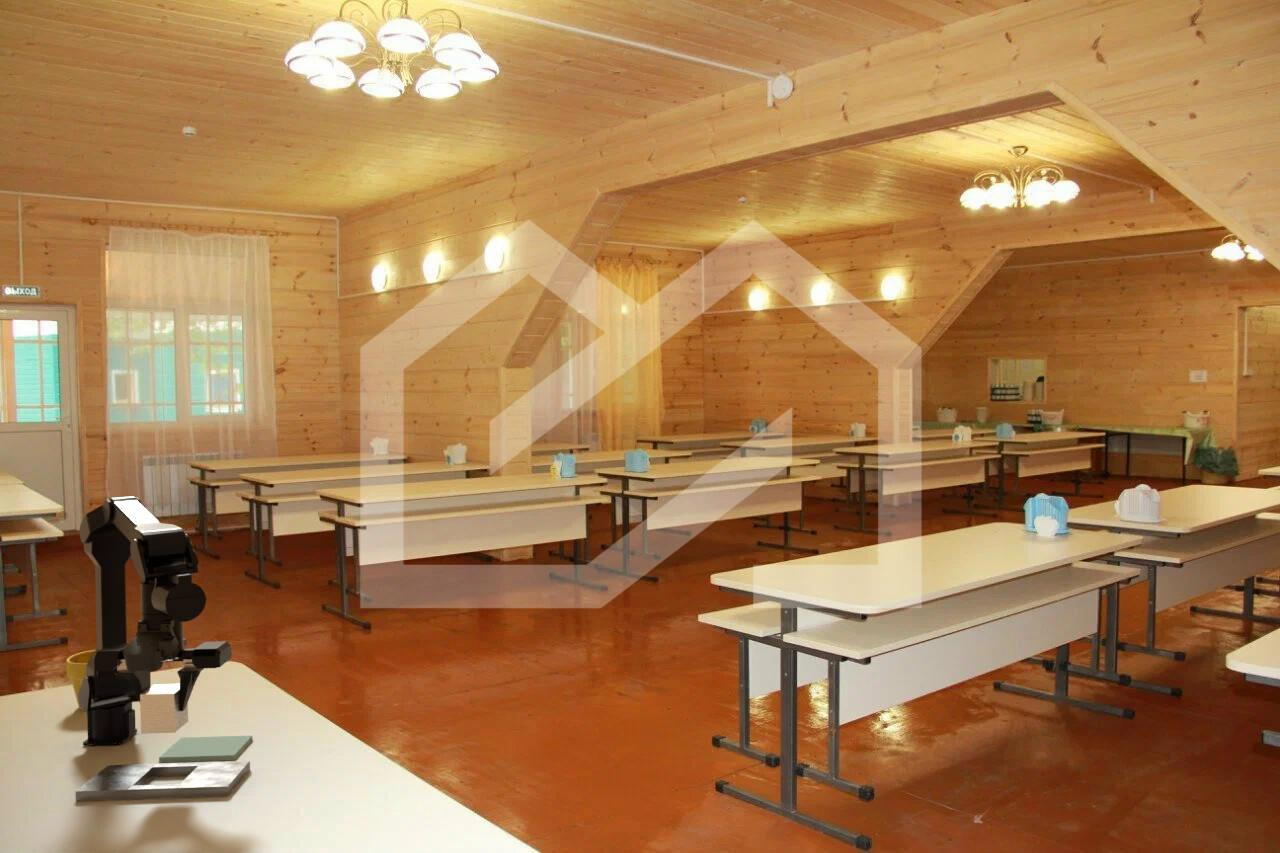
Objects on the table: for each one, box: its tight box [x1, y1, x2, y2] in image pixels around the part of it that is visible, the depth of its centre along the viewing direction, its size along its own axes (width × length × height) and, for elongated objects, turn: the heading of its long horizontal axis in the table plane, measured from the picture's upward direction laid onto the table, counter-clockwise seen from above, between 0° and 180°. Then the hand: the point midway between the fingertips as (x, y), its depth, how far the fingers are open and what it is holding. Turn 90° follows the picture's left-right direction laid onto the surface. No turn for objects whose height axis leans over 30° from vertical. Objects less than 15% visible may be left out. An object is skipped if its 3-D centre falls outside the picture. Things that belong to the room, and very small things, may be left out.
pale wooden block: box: [139, 683, 189, 735], centre depth 148 cm, size 5×5×6 cm
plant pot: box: [65, 649, 96, 711], centre depth 186 cm, size 10×10×10 cm
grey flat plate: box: [75, 760, 251, 802], centre depth 149 cm, size 22×10×2 cm, turn 94°
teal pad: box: [158, 735, 253, 763], centre depth 163 cm, size 12×9×1 cm
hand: (164, 711), depth 148 cm, fingers closed on pale wooden block, 5 cm apart
